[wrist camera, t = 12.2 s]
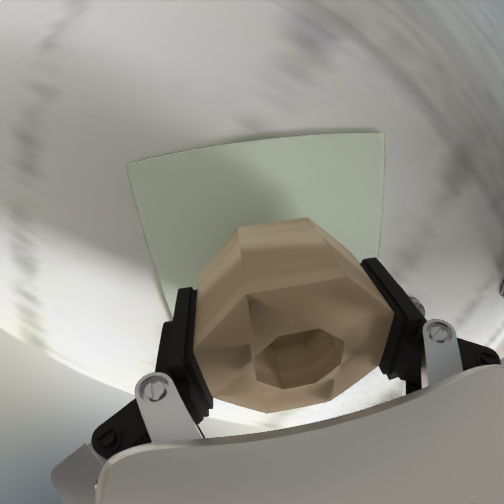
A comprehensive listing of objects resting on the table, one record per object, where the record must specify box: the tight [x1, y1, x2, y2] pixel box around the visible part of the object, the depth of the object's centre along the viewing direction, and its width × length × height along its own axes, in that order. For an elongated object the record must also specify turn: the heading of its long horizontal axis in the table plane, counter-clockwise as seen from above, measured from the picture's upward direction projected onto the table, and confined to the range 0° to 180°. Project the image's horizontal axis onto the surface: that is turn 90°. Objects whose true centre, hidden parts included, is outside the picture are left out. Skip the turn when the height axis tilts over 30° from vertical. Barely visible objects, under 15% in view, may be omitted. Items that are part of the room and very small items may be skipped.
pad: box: [126, 133, 385, 317], centre depth 15 cm, size 12×12×1 cm
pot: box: [193, 217, 394, 413], centre depth 11 cm, size 6×6×4 cm
